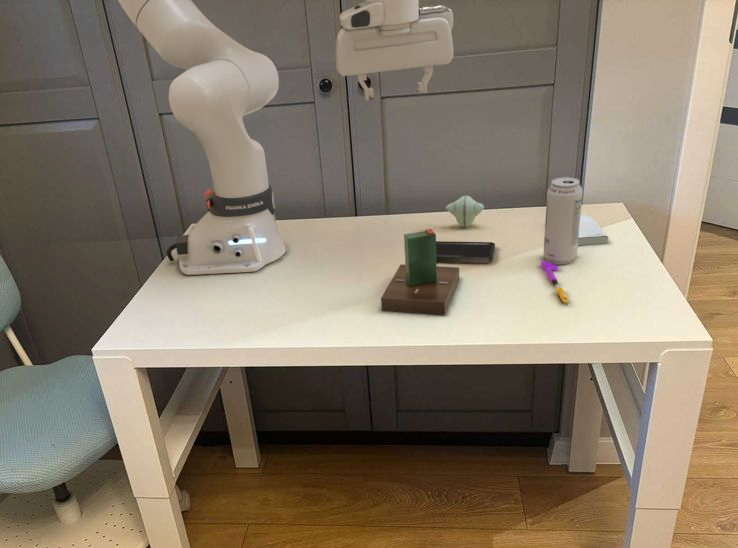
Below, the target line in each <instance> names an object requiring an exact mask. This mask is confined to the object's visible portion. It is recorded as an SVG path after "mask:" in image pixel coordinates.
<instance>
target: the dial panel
mask: <svg viewBox="0 0 738 548" xmlns="http://www.w3.org/2000/svg"><path fill="white" fill-rule="evenodd" d="M436 267H437V282H433V283H427V284H421V285H415V286H409V285H408V283H407V282H406V268H405V264H400V265H399V266H398V268H397V270H396V272H395V273H394V275H393V276H392V279H391V280H390V282H389V283H388V286H387V287H386V288H385V291H383V294H382V296H381V297H380V303H381V311H382V312H395V313H396V312H397V313H409V314H410V313H411V314H425V315H438V316H445V315H446V314H447V311H448V309H449V306H450V304H451V301H452V299H453V296H454V293H455V291H456V289H457V286H458V284H459V281H460V267H459V266H440V265H439V266H438V265H436Z"/></svg>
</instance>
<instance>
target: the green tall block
mask: <svg viewBox="0 0 738 548" xmlns="http://www.w3.org/2000/svg"><path fill="white" fill-rule="evenodd" d="M403 241H404V263H405V264H404V265H405V268H406V282H407V283H408V285H409V286H415V285H421V284H427V283H433V282H437V267H436V266H437V262H436V241H437V233H435V231H434V229H432V228H428V229H425V230H423V231H417V232H410V233H404V235H403Z"/></svg>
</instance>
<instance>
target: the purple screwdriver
mask: <svg viewBox="0 0 738 548" xmlns="http://www.w3.org/2000/svg"><path fill="white" fill-rule="evenodd" d="M540 266H541V267H542V269H543V271H544V272H545V274H546V275H547V277H548V279H549V281H550V282H551V284H552V285H553V286H556V290H555V292H556V294H557V296H558V297H559V298H560V300H561V302H562V303H564V304H569V298H568V296H567V295H566V292H565V290H564V289H563V288H562V287H561V286H558V284H559V282H558V279H557V278H556V275H555V274H554V272H553V271H555V272H557V271H559V268H558V266H557V264H552V263H550V262H549V261H547V260H542V261H541V262H540Z"/></svg>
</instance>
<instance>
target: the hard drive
mask: <svg viewBox="0 0 738 548" xmlns="http://www.w3.org/2000/svg"><path fill="white" fill-rule="evenodd" d="M608 242H609V236H608V235H607V232H605V231H604V230H603V228H602V227H601V226H600V225H599V224H598V223H597V221H596V220H595V219H594V218H593V217H592V216H591V214H589V213H583V214H582V213H581V215H580V226H579V238H578V246H584V245H585V246H586V245H599V244H606V243H608Z"/></svg>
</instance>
